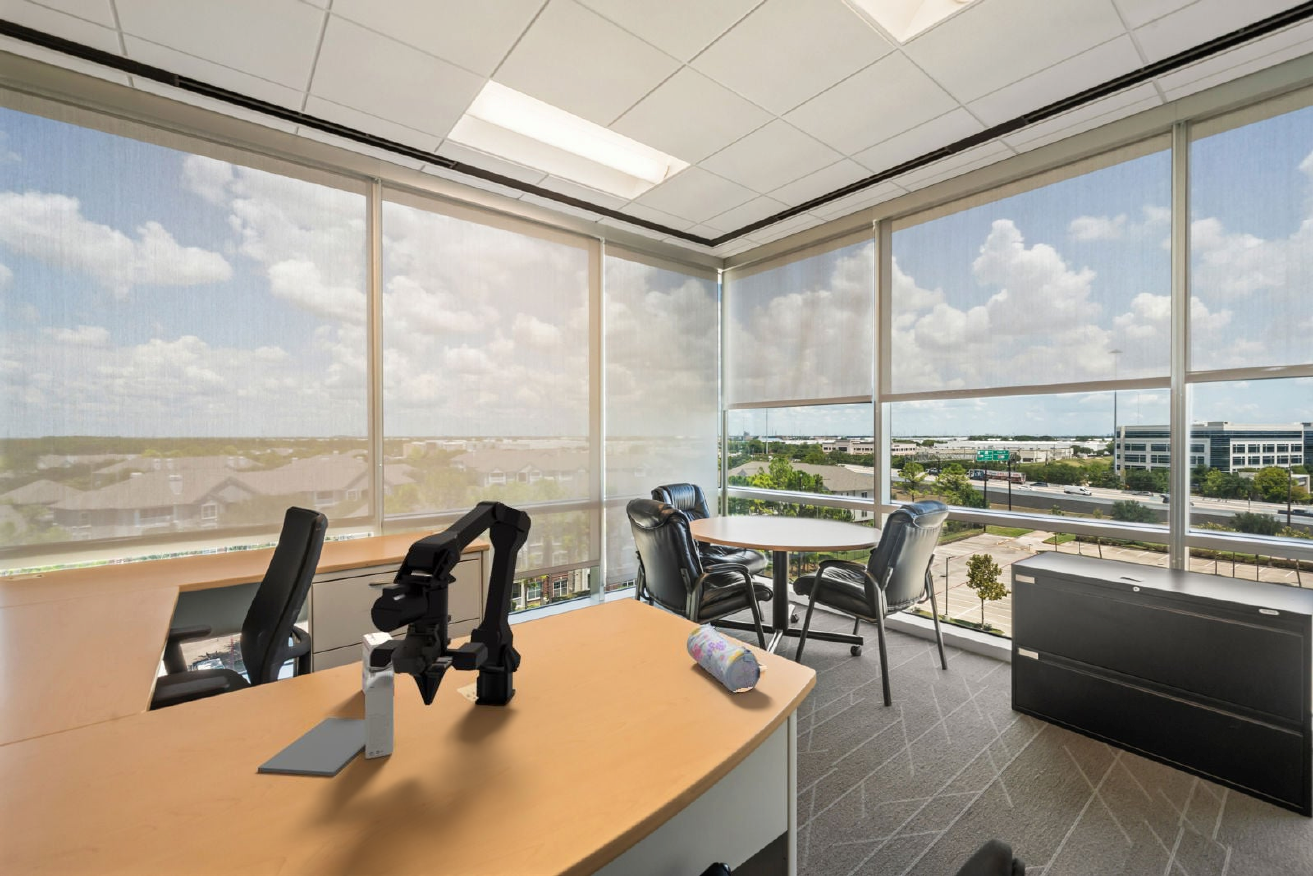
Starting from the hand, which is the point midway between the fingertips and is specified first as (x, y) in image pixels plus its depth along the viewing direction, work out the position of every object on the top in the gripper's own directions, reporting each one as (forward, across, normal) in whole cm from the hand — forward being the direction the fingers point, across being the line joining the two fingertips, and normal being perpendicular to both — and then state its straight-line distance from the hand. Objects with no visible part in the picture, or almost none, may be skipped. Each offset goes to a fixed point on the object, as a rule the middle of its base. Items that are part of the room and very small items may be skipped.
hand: (428, 704), depth 91 cm
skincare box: (+8, -9, 0) cm, 12 cm away
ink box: (+8, -22, +20) cm, 31 cm away
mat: (+8, -18, 0) cm, 20 cm away
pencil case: (+8, +52, +36) cm, 64 cm away
